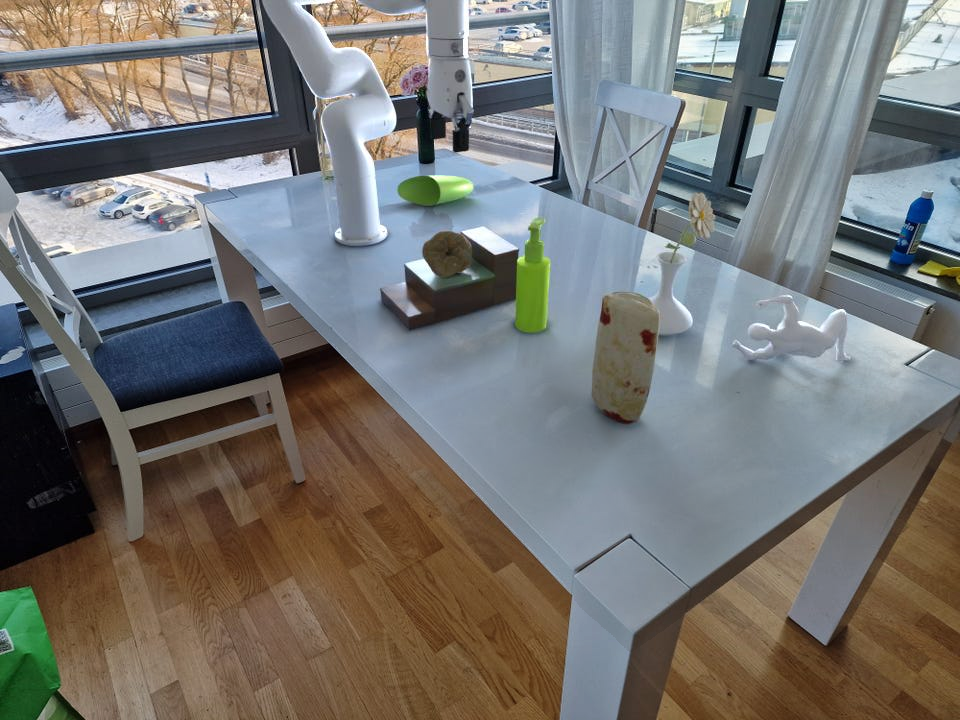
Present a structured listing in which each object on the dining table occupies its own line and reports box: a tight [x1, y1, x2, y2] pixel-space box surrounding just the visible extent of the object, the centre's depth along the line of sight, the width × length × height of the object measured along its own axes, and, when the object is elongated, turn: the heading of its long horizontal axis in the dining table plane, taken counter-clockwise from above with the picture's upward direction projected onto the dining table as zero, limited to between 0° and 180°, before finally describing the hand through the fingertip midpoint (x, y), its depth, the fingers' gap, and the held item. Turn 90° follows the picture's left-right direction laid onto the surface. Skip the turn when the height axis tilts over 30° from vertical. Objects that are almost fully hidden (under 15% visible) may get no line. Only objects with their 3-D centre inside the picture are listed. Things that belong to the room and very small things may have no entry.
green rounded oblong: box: [396, 175, 474, 206], centre depth 173 cm, size 8×12×20 cm
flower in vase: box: [647, 192, 716, 336], centre depth 112 cm, size 13×11×25 cm
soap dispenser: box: [514, 217, 551, 334], centre depth 114 cm, size 6×7×20 cm
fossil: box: [421, 230, 472, 278], centre depth 122 cm, size 9×4×10 cm
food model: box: [590, 291, 660, 425], centre depth 91 cm, size 10×7×20 cm
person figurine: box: [731, 295, 852, 362], centre depth 106 cm, size 13×13×18 cm
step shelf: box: [379, 225, 520, 331], centre depth 124 cm, size 13×24×11 cm, turn 121°
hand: (449, 144), depth 123 cm, fingers open, 9 cm apart
